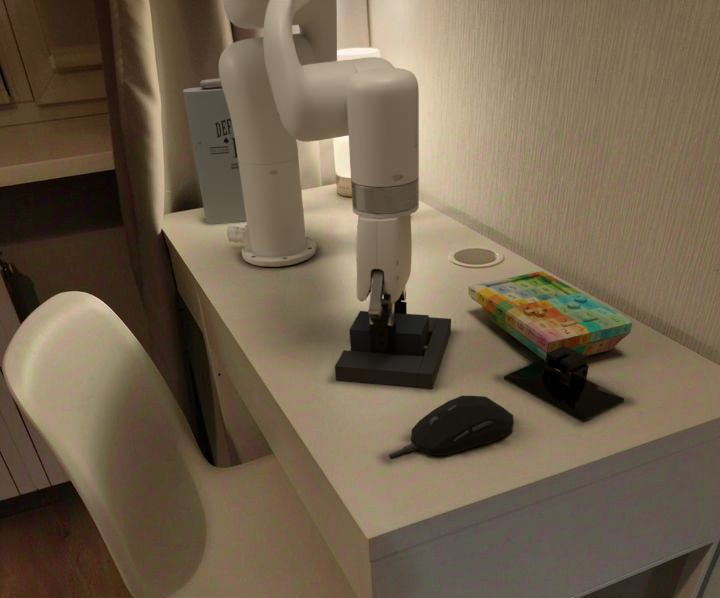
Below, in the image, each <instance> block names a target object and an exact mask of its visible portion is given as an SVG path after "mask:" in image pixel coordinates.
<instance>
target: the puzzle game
mask: <svg viewBox="0 0 720 598" xmlns="http://www.w3.org/2000/svg"><path fill="white" fill-rule="evenodd" d="M468 295H469V297H470V298H471V299H472V300H473V301H474V302H476V303H477V304H479V305H480V306H481V307H482V309H483V312H484V314H485V315H486V317H488V319H489V320H490V321H491V322H492V323H494V324H495V325H496V326H498V327H499V328H500V329H502V330H503V331H504V332H506V333H507V334H508V335H510V336H511V337H512V338H514V339H515V340H516V341H518V342H519V343H521V344H522V345H524V346H525V348H527V349H529V350H530V351H531V352H533V353H534V354H535V355H536V356H538V357H539V358H540V359H541V360H542V359H543V360H544V359H546V354H547V353H548V352H551V351H553V350H555V349H558V348H560V347H562V346H565V347H568V348H570V349H572V350H574V351H576V352H578V353H580V354H582V355H584V356H587V357H588V356H592V355H595V354H600V353H604V352H607V351H611V350H613V349H614V348H615V347H616V346H617V345H618V344H619V343H620V342H622V341H623V339H625V338H626V337H627V336H628V335H630V334H631V331H632V326H633V323H632V322H631V321H630V320H629V318H628V317H626V316H625V315H622V314H620V313H619V312H617V311H615V310H613V309H612V308H610V307H608V306H606V305H604V304H603V303H601V302H599V301H597V300H595V299H593V298H592V297H590V296H587V295H586V294H585V293H582V292H581V291H579V290H578V289H575V288H574V287H572V286H570V285H568V284H566V283H564V282H563V281H561V280H559V279H557V278H556V277H554V276H552V275H549V274H548V273H546V272H545V271H543V270H539V271H536V272H531V273H526V274H521V275H517V276H512V277H511V276H510V277H507V278H502V279H497V280H492V281H487V282H481V283H477V284H472V285H469V286H468Z"/></svg>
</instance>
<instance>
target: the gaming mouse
mask: <svg viewBox="0 0 720 598" xmlns="http://www.w3.org/2000/svg"><path fill="white" fill-rule="evenodd" d="M514 423H515V420H514V414H512V413H511V412H509V411H508V410H507V409H506V408H505V407H503V406H502V405H500V404H498V403H497V402H495V401H494V400H492V399H490V398H488V397H487V396H483V395H482V396H481V395H459V396H457V397H455V398H452V399H450V400H448V401H446V402H444V403H443V404H441V405H440V406H438V407H436V408H434V409H433V410H431V411H430V412H429V413H427V414H426V415H425V416H423V417H422V418H421V419H420V420H419V421H418V422H417V423H416V424H415V425H414V427H412V429H411V433H410V434H411V435H410V442H411V443H410V444H407V445H405V446H403V448H401V449H399V450H396V451H394V452H391V453H389V454H388V457H389V458H390V459H392V458H394V457H396V456H398V455H401V454H403V453H404V454H405V453H409V452H411V451H413V450H415V449H416V448H417V449H418V451H420V452H423V453H426V454H429V455H431V456H446V455H447V456H448V455H451V454H454V453H459V452H462V451H464V450H468V449H471V448H474V447H477V446H482V445H486V444H488V443H492V442H495V441H497V440H500V439H501V438H503V437H504V436H505V435H507V434H509V433H510V432H511V431H512V429H513V427H514Z"/></svg>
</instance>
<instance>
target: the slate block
mask: <svg viewBox="0 0 720 598" xmlns="http://www.w3.org/2000/svg"><path fill="white" fill-rule="evenodd" d="M387 314H388V313H387ZM429 317H430V315H429V314H418V313H407V314H402V313H394V323H396V332H397V352H396V354H398V355H411V356H422V354H423V352H424V350H425V346H426V345H425V344H426V342H427V339H428V337H429ZM369 320H370V317H369V312H368V310H367V311H366V310H360V311H359V312H358V313H357V316H356V317H355V319H354V320H353V322H352V324H351V326H350V328H349V346H350V351H360V352H371V343H370V323H369Z"/></svg>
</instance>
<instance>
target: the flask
mask: <svg viewBox="0 0 720 598" xmlns="http://www.w3.org/2000/svg"><path fill="white" fill-rule="evenodd" d="M213 84H214V85H213ZM215 84H221V80H220V77H218V78H211V79H209V78H208V79H202V80H201V81H200V83H199V85H200V87H199V86H198V87H188V88H184V89H183V90H182V94H183V99H184V104H185V105H184V106H185V108H186V115H187V122H188V126H189V132H190V138H191V143H192V148H193V149H192V150H193V156H194V160H195V166H196V172H197V178H198V185H199V189H200V195H201V200H202V207H203V212H204V218H205V222H206V224H214V225H215V224H216V225H217V224H228V223H229V224H230V223H239V222H247V220H246V213H245V206H244V199H243V191H242V184H241V177H240V170H239V163H238V157H237V150H236V143H235V137H234V131H233V126H232V121H231V117H230V113H229V109H228V105H227V102H226V98H225V95H224V92H223V88H222V85H216V86H215ZM207 85H213V86H207ZM278 115H279V113H278ZM279 117H280V116H279Z"/></svg>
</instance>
